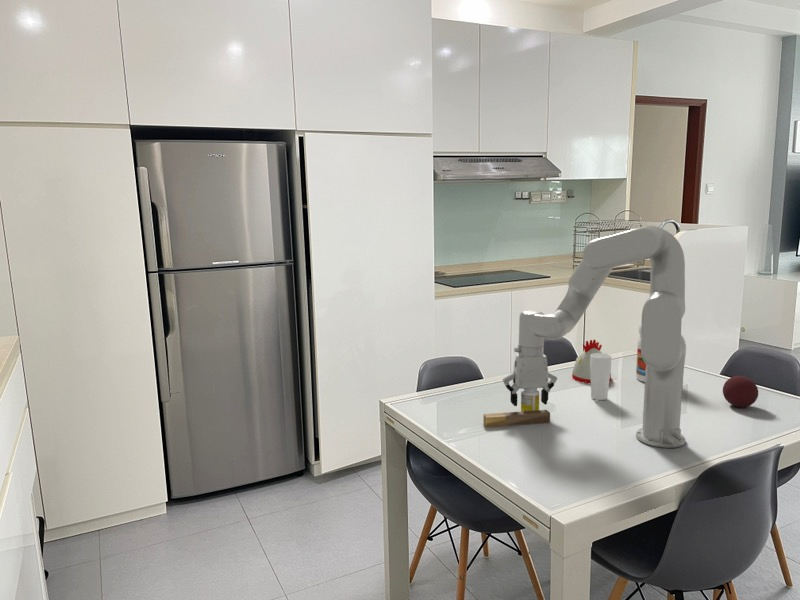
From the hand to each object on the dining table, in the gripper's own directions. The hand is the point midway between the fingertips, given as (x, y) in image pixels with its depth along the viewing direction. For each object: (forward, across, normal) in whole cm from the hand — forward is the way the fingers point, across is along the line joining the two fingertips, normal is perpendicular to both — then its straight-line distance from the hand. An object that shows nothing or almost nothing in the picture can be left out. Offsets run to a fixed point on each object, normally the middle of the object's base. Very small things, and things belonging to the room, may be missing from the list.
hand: (529, 403), depth 186 cm
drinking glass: (+4, +29, +11) cm, 32 cm away
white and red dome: (+4, +37, +33) cm, 50 cm away
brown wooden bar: (+4, -6, -5) cm, 9 cm away
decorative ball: (+4, +69, -5) cm, 69 cm away
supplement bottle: (+4, 0, 0) cm, 4 cm away
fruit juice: (+4, +57, +27) cm, 64 cm away
